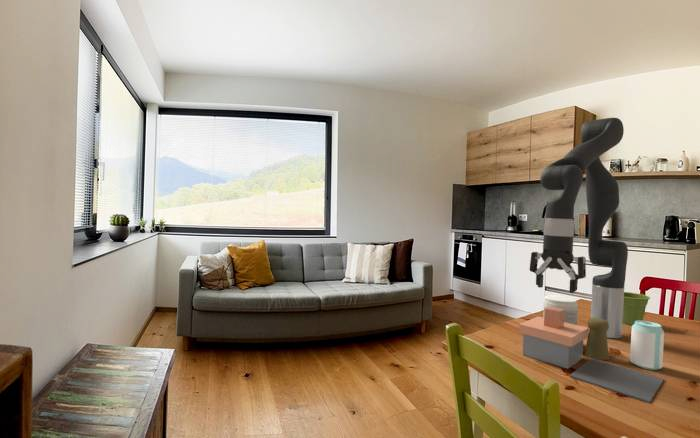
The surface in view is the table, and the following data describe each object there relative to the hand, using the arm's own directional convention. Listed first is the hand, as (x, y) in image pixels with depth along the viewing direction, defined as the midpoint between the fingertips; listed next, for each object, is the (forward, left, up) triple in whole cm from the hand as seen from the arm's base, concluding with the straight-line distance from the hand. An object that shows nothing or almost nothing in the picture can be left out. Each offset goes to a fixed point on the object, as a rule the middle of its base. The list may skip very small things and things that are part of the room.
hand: (555, 289), depth 106 cm
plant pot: (-63, +6, -20) cm, 66 cm away
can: (-15, +19, -20) cm, 31 cm away
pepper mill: (-12, +8, -20) cm, 24 cm away
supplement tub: (-14, -3, -20) cm, 25 cm away
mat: (+2, +16, -20) cm, 25 cm away
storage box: (0, 0, -20) cm, 20 cm away
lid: (0, 0, -13) cm, 13 cm away
